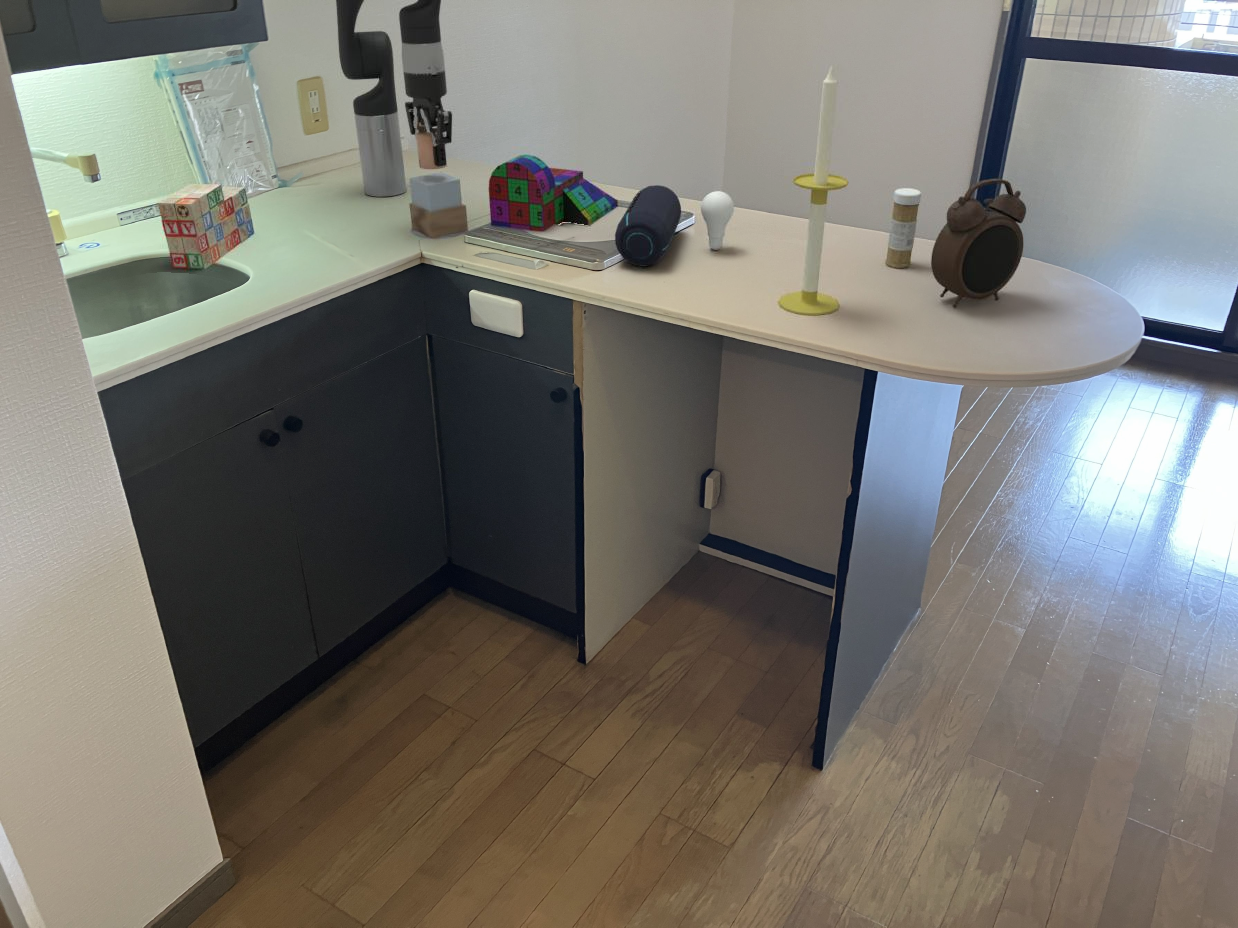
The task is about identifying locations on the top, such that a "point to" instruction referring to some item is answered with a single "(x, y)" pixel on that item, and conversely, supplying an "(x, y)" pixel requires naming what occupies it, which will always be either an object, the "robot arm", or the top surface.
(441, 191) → the grey-blue top block
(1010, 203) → the alarm clock
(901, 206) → the sprinkles bottle
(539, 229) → the numbered checker block
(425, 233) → the walnut base block
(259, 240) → the top surface
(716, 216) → the lightbulb
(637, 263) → the portable speaker
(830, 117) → the candle
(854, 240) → the top surface
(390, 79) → the robot arm
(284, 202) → the top surface
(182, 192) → the stack of blocks
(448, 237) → the slate coaster
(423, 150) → the peach rounded cylinder
